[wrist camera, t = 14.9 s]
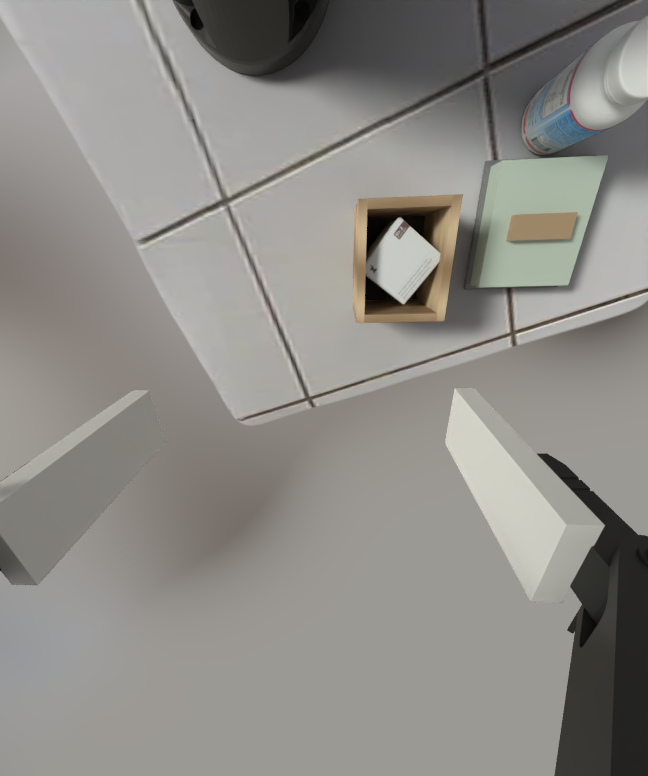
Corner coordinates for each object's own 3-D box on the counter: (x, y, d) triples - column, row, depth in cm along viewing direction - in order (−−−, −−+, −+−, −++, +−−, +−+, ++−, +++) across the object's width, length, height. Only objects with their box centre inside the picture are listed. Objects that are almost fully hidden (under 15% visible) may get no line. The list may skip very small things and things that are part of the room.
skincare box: (392, 296, 38) (404, 307, 31) (355, 267, 36) (358, 271, 30) (426, 254, 35) (446, 256, 29) (387, 221, 34) (399, 214, 28)
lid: (490, 166, 31) (507, 157, 28) (589, 161, 31) (617, 151, 28) (470, 284, 36) (482, 288, 33) (553, 282, 36) (574, 286, 33)
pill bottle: (590, 128, 30) (718, 67, 20) (529, 170, 32) (619, 133, 22) (574, 61, 28) (707, -45, 18) (510, 109, 30) (598, 38, 19)
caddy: (354, 210, 34) (358, 198, 26) (433, 207, 34) (462, 194, 25) (352, 307, 39) (356, 322, 31) (422, 305, 38) (444, 321, 30)
